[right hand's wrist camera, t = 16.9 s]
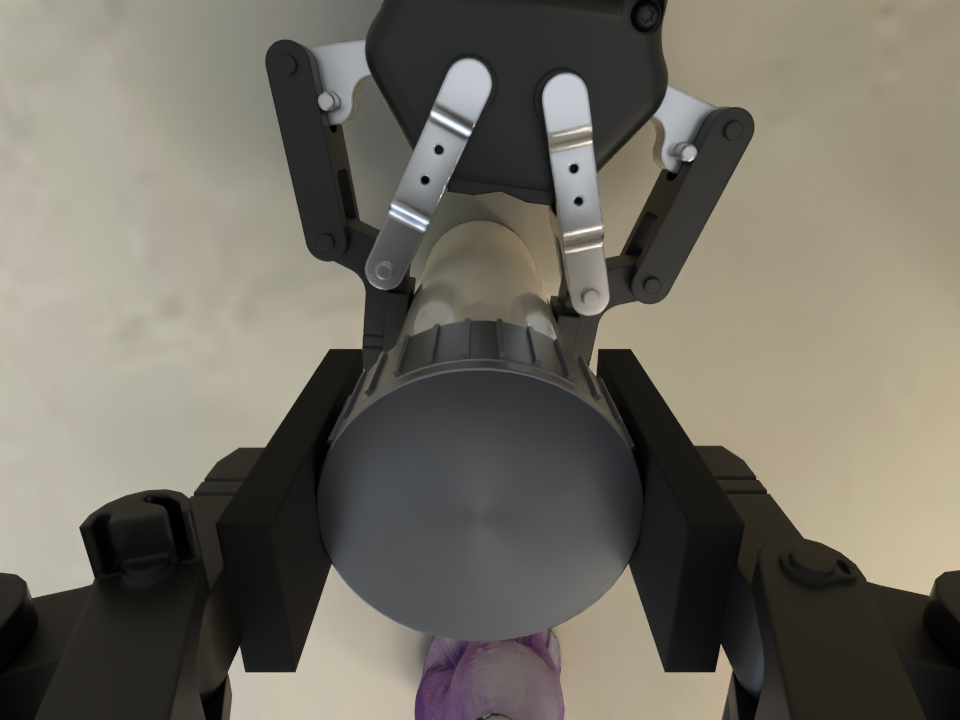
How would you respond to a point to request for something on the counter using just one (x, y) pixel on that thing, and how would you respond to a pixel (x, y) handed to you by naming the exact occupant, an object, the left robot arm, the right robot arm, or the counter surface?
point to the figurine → (492, 680)
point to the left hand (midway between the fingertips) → (471, 394)
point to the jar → (480, 282)
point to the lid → (480, 484)
